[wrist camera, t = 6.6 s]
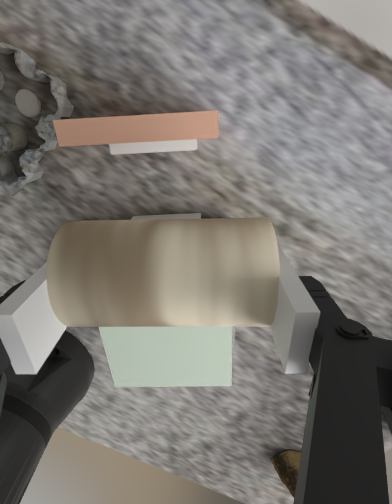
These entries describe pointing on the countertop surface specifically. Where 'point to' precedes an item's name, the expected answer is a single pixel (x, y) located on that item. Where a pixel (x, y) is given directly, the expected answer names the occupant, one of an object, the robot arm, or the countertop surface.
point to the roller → (164, 273)
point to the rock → (288, 468)
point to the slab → (169, 355)
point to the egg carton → (29, 105)
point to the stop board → (137, 128)
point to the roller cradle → (157, 147)
